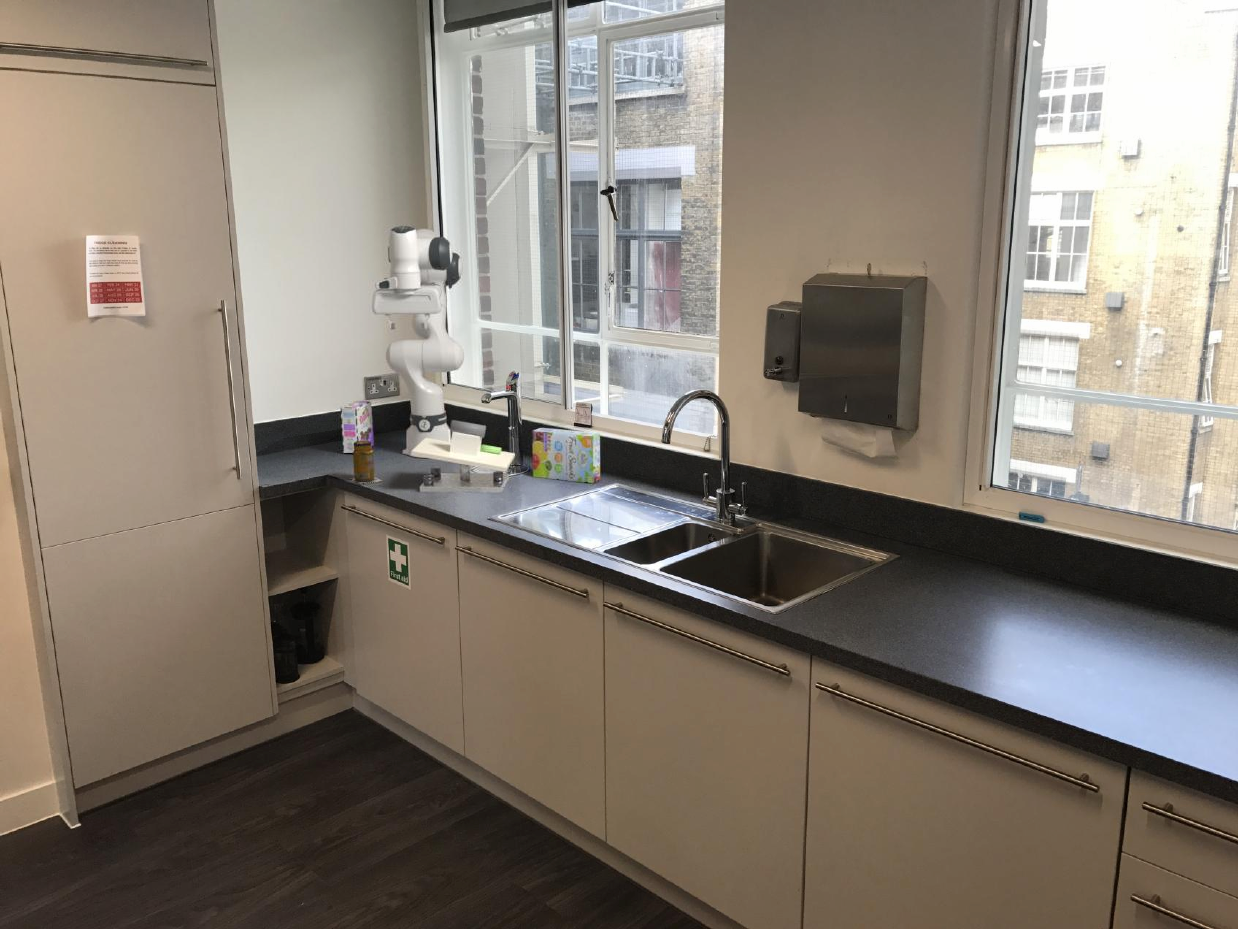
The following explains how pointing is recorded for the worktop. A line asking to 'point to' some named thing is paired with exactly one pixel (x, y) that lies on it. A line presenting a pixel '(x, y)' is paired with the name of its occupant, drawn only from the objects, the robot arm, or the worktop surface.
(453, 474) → the bolted base plate
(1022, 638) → the worktop surface
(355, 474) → the condiment
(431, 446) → the plate
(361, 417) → the candy box
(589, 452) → the snack box
